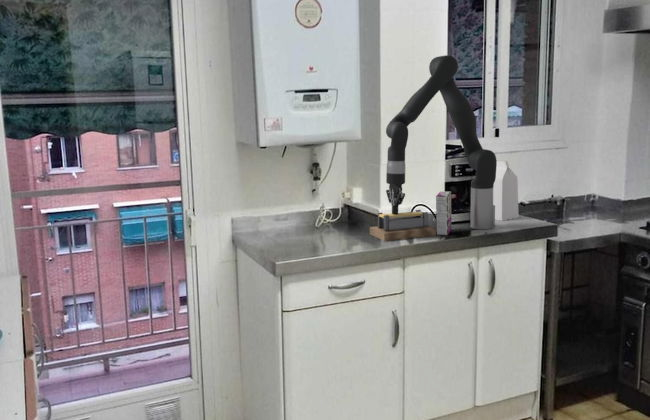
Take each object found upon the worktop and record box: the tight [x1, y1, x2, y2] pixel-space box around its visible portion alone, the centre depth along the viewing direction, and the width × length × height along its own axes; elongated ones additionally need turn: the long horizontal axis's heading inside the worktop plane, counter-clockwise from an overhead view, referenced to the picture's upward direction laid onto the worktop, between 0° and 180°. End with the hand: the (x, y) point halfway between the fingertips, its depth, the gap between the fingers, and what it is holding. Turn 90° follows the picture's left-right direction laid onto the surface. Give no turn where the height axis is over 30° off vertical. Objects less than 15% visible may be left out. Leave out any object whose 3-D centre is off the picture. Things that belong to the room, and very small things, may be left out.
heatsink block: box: [377, 209, 429, 231], centre depth 248 cm, size 19×8×6 cm, turn 110°
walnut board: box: [369, 224, 437, 242], centre depth 248 cm, size 23×14×3 cm, turn 110°
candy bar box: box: [435, 191, 452, 236], centre depth 249 cm, size 11×5×16 cm, turn 161°
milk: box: [493, 160, 520, 221], centre depth 276 cm, size 12×12×26 cm
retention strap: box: [379, 210, 424, 218], centre depth 247 cm, size 19×4×2 cm, turn 110°
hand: (394, 214), depth 246 cm, fingers closed
